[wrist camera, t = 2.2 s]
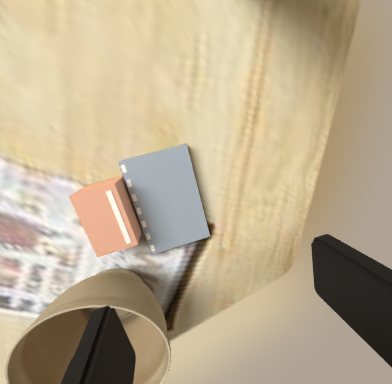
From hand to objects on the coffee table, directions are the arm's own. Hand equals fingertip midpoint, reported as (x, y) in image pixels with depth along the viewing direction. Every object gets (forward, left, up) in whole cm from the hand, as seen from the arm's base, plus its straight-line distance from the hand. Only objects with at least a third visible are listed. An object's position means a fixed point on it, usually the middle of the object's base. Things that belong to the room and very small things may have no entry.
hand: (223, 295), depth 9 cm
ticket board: (+2, +1, -20) cm, 21 cm away
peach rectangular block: (+10, 0, -20) cm, 22 cm away
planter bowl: (+14, +14, -21) cm, 29 cm away
